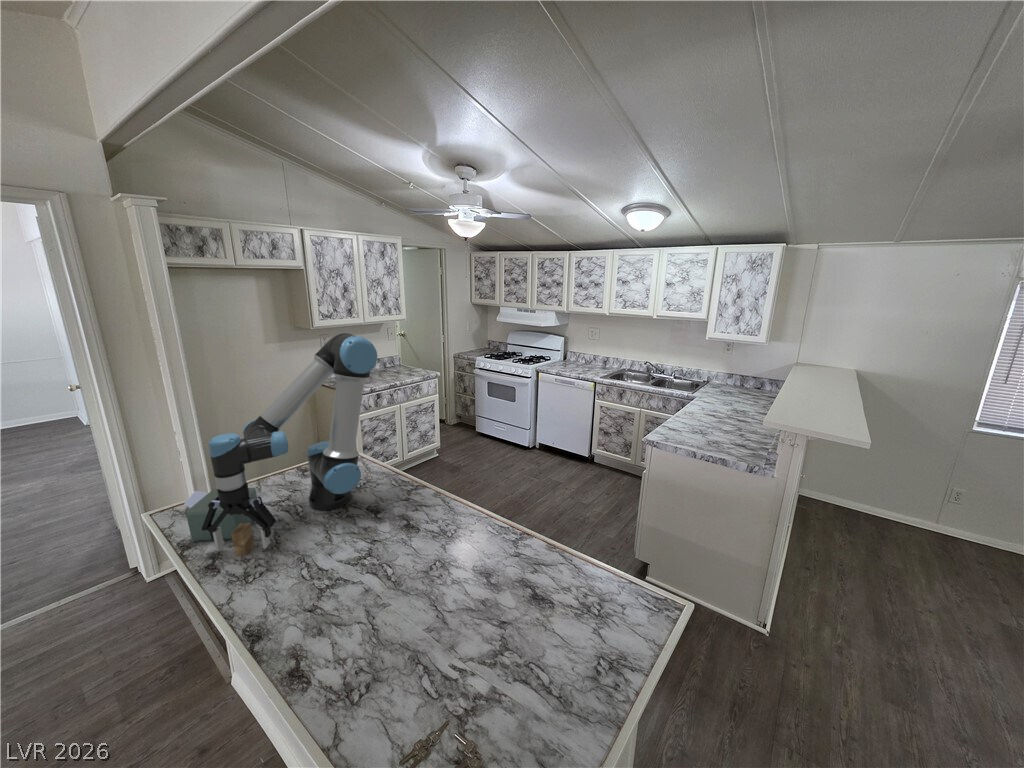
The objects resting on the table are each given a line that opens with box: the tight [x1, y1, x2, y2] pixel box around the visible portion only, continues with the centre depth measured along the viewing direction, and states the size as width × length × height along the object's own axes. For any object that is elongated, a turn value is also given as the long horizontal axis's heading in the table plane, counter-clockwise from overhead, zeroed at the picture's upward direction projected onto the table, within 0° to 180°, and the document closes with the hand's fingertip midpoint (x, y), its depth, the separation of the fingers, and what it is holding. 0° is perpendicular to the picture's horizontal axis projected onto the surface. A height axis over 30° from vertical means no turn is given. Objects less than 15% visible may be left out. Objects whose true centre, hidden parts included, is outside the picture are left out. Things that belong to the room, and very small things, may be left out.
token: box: [231, 523, 255, 557], centre depth 124 cm, size 3×5×8 cm, turn 6°
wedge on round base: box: [183, 490, 209, 509], centre depth 146 cm, size 9×7×13 cm
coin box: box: [185, 487, 258, 543], centre depth 135 cm, size 14×14×11 cm
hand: (243, 547), depth 125 cm, fingers open, 13 cm apart
